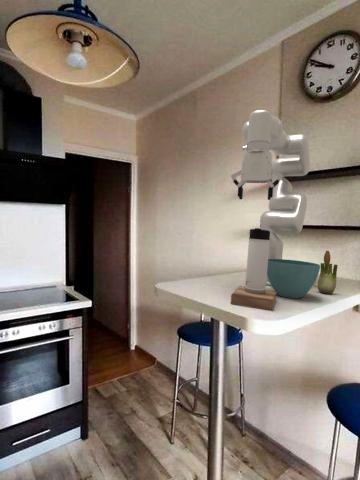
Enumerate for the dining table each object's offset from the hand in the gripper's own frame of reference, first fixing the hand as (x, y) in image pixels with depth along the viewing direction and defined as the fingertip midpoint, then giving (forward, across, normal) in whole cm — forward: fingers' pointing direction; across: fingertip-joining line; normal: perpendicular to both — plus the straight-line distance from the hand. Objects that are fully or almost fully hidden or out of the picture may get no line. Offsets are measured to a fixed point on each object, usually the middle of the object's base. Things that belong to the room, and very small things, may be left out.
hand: (254, 199), depth 100 cm
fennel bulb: (+34, +27, +20) cm, 48 cm away
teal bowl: (+34, +14, +6) cm, 37 cm away
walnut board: (+33, +3, -12) cm, 35 cm away
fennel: (+35, +28, +35) cm, 57 cm away
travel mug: (+30, +3, -12) cm, 32 cm away
